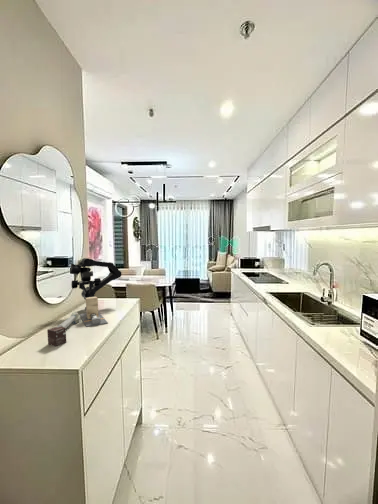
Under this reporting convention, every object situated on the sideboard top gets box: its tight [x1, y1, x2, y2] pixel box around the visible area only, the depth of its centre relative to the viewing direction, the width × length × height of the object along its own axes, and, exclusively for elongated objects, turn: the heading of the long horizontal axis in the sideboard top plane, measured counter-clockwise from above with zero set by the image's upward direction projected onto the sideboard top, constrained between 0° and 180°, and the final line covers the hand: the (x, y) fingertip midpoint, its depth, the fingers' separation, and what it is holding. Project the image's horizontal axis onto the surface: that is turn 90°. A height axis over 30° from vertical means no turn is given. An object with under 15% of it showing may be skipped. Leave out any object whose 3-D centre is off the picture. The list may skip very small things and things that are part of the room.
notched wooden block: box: [85, 296, 99, 319], centre depth 184 cm, size 5×6×12 cm
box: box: [46, 325, 67, 347], centre depth 142 cm, size 6×6×7 cm
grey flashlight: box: [56, 311, 81, 329], centre depth 167 cm, size 5×7×25 cm
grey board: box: [79, 310, 109, 328], centre depth 183 cm, size 30×12×4 cm, turn 27°
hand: (87, 293), depth 197 cm, fingers open, 2 cm apart
